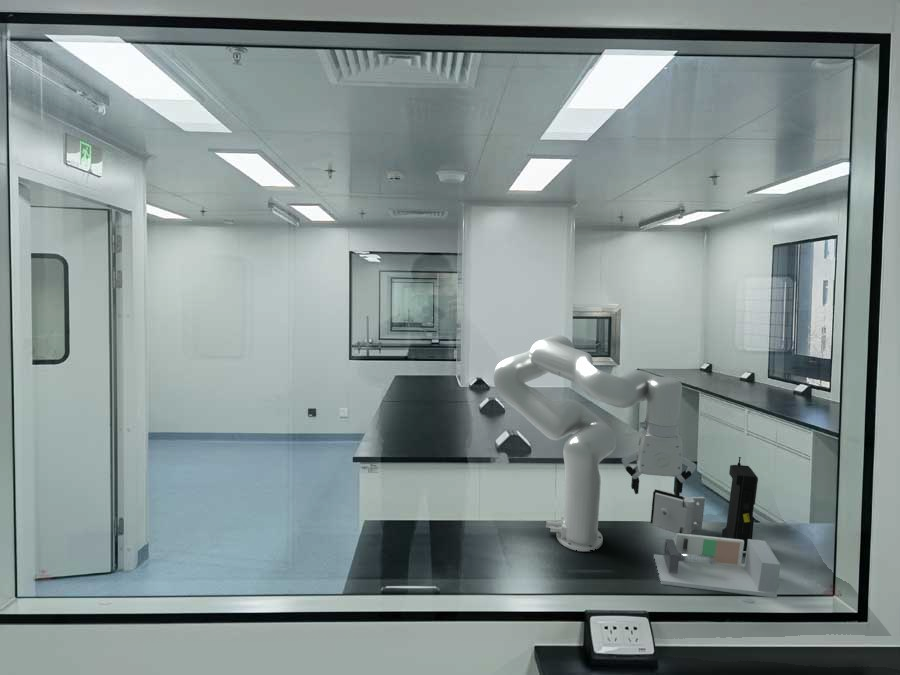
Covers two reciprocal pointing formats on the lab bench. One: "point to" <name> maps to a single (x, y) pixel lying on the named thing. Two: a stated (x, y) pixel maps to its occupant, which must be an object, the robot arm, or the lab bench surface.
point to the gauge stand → (724, 566)
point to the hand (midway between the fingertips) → (655, 493)
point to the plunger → (682, 556)
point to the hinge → (677, 512)
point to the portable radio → (741, 504)
